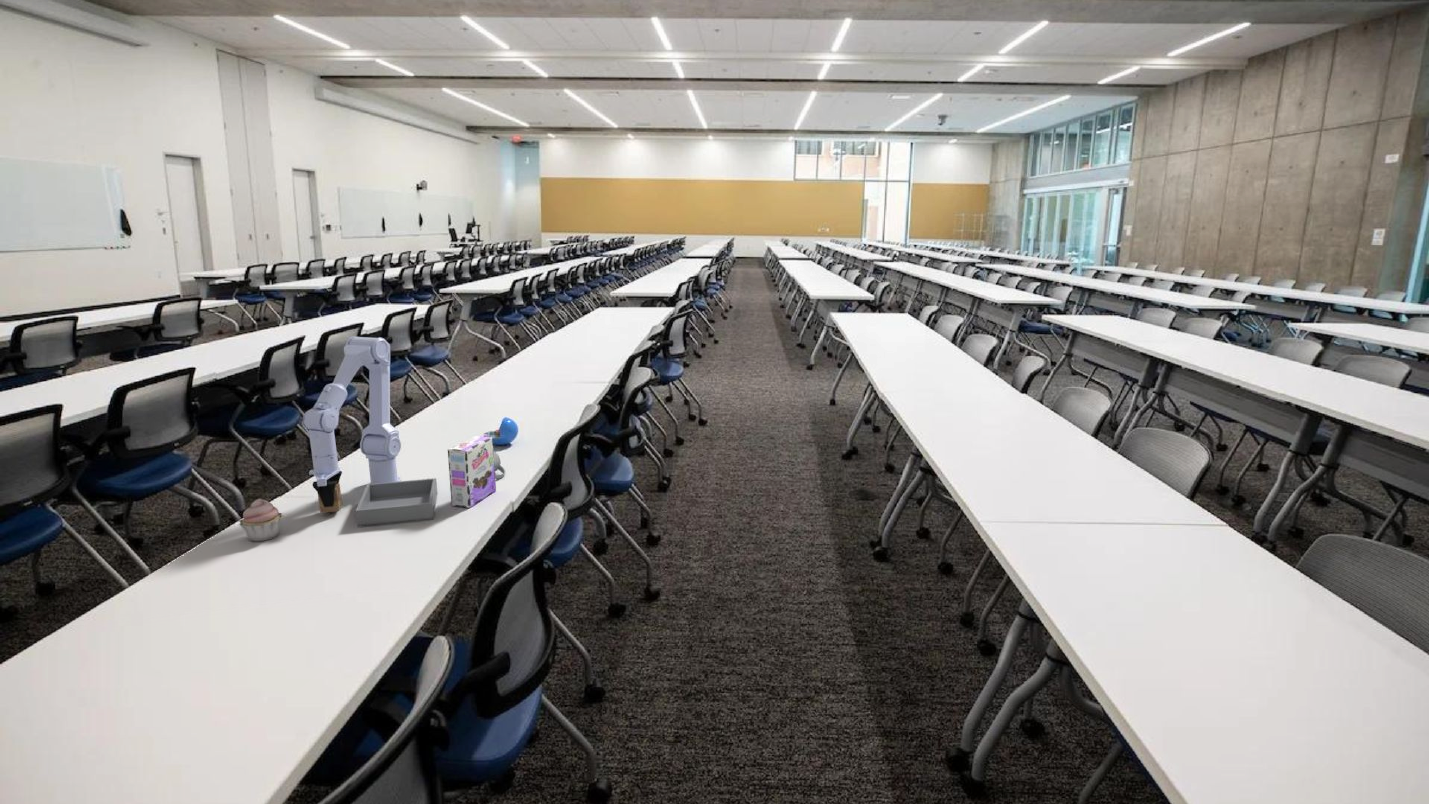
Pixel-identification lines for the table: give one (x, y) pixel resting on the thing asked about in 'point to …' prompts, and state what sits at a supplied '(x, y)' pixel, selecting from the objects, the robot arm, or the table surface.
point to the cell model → (504, 432)
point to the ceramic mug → (498, 466)
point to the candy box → (471, 471)
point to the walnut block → (337, 501)
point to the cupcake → (261, 521)
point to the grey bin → (397, 502)
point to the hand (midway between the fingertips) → (330, 502)
